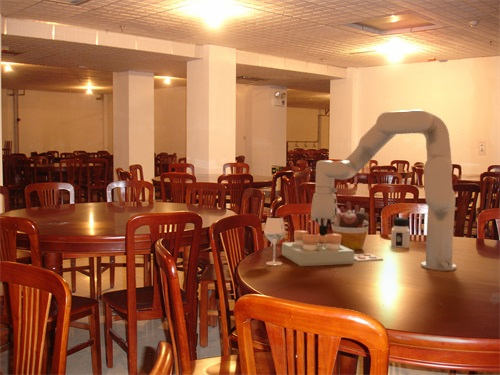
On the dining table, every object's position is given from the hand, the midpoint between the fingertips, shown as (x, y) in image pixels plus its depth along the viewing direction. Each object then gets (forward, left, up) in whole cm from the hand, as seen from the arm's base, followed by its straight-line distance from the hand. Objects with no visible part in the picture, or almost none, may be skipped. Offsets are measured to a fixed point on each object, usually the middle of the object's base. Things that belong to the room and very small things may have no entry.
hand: (323, 235), depth 226 cm
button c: (-12, +7, -5) cm, 15 cm away
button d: (-2, +10, -5) cm, 11 cm away
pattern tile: (-4, -16, -9) cm, 19 cm away
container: (+23, -40, -9) cm, 47 cm away
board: (-6, +4, -9) cm, 11 cm away
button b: (0, 0, -7) cm, 7 cm away
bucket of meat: (+18, -15, -9) cm, 25 cm away
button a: (-10, -2, -5) cm, 11 cm away
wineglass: (-15, +22, -9) cm, 28 cm away
